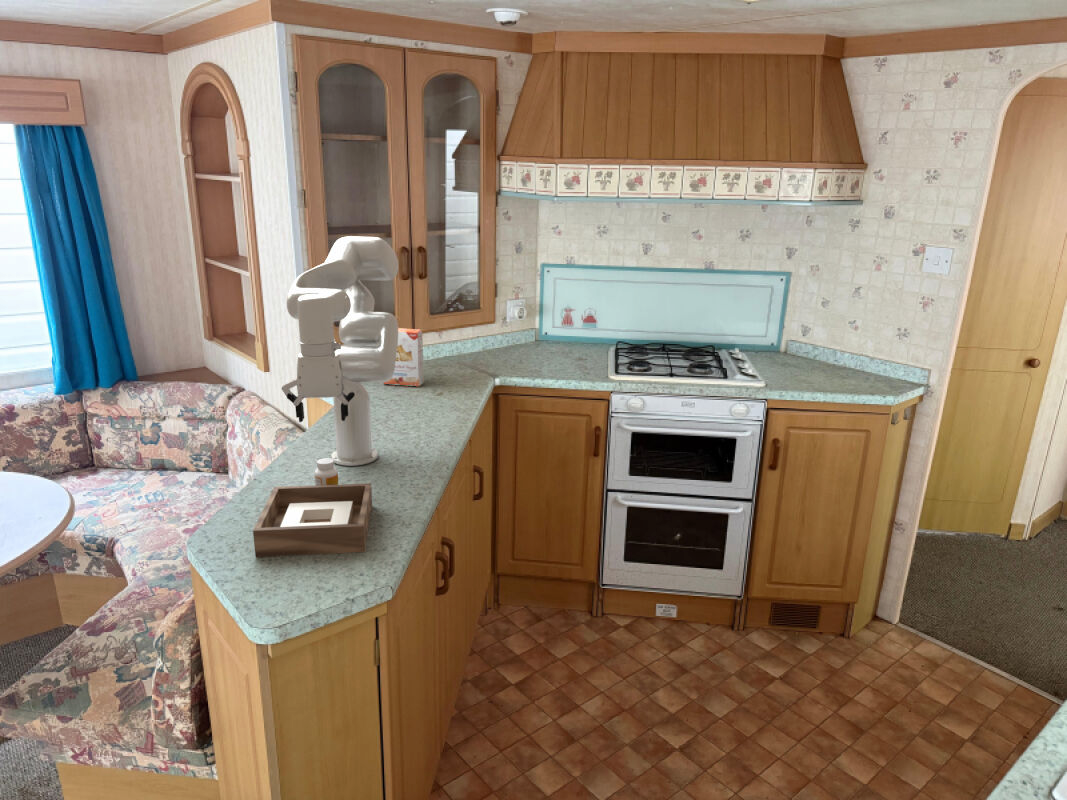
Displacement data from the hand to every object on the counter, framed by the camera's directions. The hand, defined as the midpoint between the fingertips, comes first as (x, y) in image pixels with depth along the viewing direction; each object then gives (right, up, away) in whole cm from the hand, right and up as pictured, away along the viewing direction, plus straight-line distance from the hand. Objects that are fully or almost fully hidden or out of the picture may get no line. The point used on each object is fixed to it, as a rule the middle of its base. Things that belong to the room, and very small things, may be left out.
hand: (322, 419), depth 175 cm
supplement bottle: (0, -19, +6) cm, 20 cm away
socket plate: (+2, -24, -10) cm, 26 cm away
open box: (+2, -24, -10) cm, 26 cm away
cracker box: (+1, +10, +102) cm, 102 cm away
